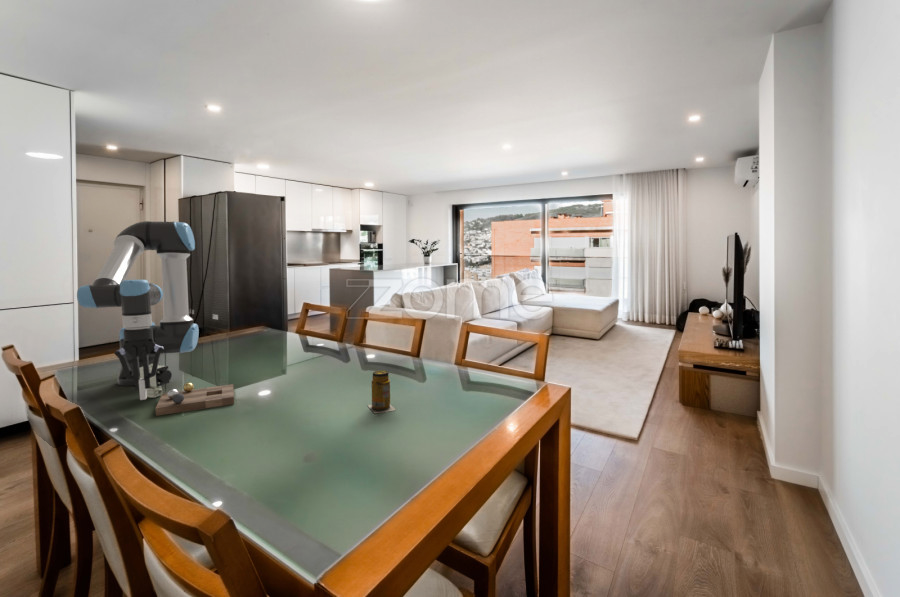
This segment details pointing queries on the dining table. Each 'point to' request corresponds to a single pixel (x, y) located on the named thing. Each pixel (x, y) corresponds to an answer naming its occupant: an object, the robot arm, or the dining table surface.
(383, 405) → the condiment
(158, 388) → the pneumatic valve
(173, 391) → the steel ball
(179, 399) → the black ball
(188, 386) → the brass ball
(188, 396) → the board
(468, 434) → the dining table surface
